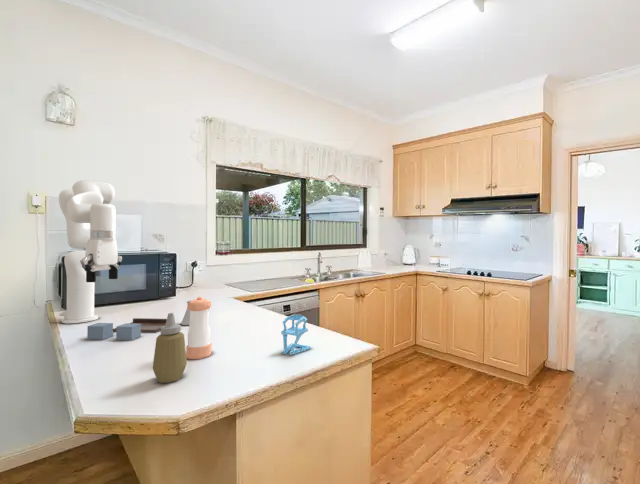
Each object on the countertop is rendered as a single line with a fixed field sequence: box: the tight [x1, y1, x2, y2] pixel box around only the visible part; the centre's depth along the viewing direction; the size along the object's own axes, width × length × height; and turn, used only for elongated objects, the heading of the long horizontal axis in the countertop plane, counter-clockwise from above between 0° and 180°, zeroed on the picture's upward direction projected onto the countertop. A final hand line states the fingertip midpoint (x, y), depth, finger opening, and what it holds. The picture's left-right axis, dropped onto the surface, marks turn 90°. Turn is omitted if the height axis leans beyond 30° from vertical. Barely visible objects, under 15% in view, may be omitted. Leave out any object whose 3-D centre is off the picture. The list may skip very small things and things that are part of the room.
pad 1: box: [86, 322, 114, 341], centre depth 128 cm, size 6×5×5 cm
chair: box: [280, 313, 311, 356], centre depth 116 cm, size 8×8×12 cm
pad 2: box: [115, 322, 142, 341], centre depth 127 cm, size 6×5×5 cm
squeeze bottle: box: [152, 312, 188, 384], centre depth 92 cm, size 8×8×18 cm
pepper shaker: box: [185, 296, 212, 360], centre depth 110 cm, size 7×7×19 cm
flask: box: [180, 299, 193, 326], centre depth 149 cm, size 7×7×10 cm
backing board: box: [113, 317, 167, 333], centre depth 142 cm, size 18×12×2 cm, turn 88°
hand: (102, 280), depth 129 cm, fingers open, 9 cm apart
